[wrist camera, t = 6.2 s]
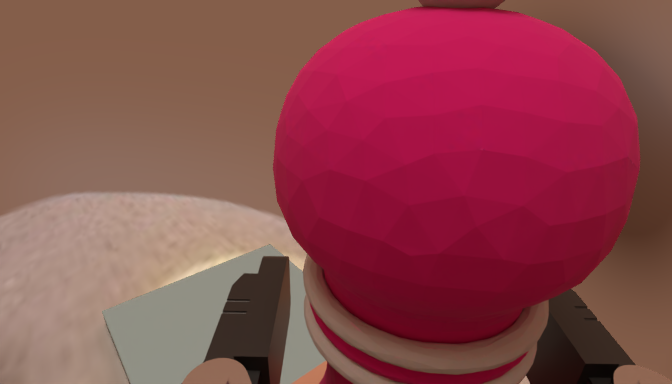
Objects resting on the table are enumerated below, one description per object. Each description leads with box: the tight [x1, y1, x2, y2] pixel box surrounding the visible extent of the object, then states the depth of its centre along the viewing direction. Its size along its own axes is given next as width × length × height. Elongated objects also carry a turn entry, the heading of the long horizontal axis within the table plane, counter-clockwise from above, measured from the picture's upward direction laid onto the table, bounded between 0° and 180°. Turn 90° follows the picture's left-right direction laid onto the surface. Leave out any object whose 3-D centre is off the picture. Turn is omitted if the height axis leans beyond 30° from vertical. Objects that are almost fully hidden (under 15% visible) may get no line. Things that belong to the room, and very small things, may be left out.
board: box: [102, 244, 326, 384], centre depth 23 cm, size 12×12×1 cm
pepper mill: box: [273, 0, 640, 384], centre depth 10 cm, size 7×7×20 cm
